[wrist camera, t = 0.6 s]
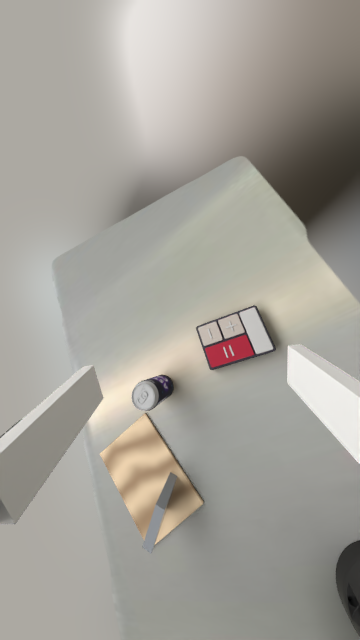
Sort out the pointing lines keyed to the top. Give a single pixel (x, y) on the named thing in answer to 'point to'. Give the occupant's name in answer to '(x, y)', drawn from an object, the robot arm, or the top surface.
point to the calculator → (235, 338)
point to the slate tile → (159, 513)
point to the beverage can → (152, 392)
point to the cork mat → (149, 476)
